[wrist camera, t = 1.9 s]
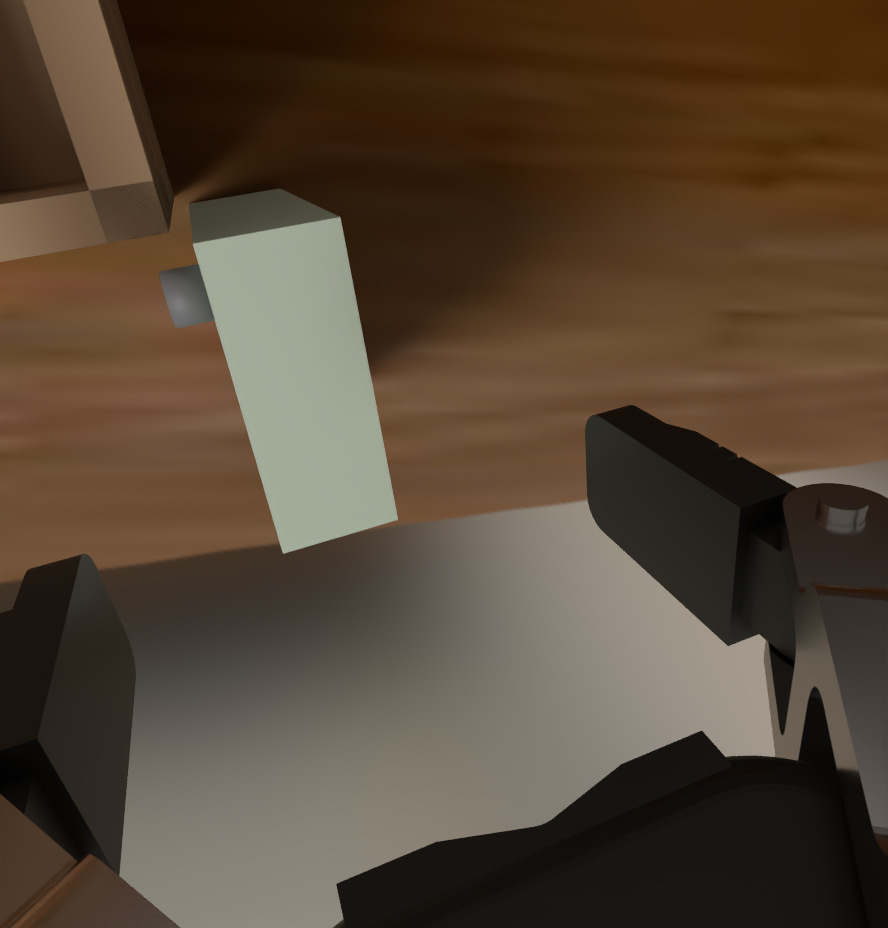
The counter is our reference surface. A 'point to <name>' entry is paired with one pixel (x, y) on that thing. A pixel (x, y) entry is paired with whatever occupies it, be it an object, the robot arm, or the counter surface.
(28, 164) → the cabinet
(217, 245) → the door
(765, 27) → the counter surface
